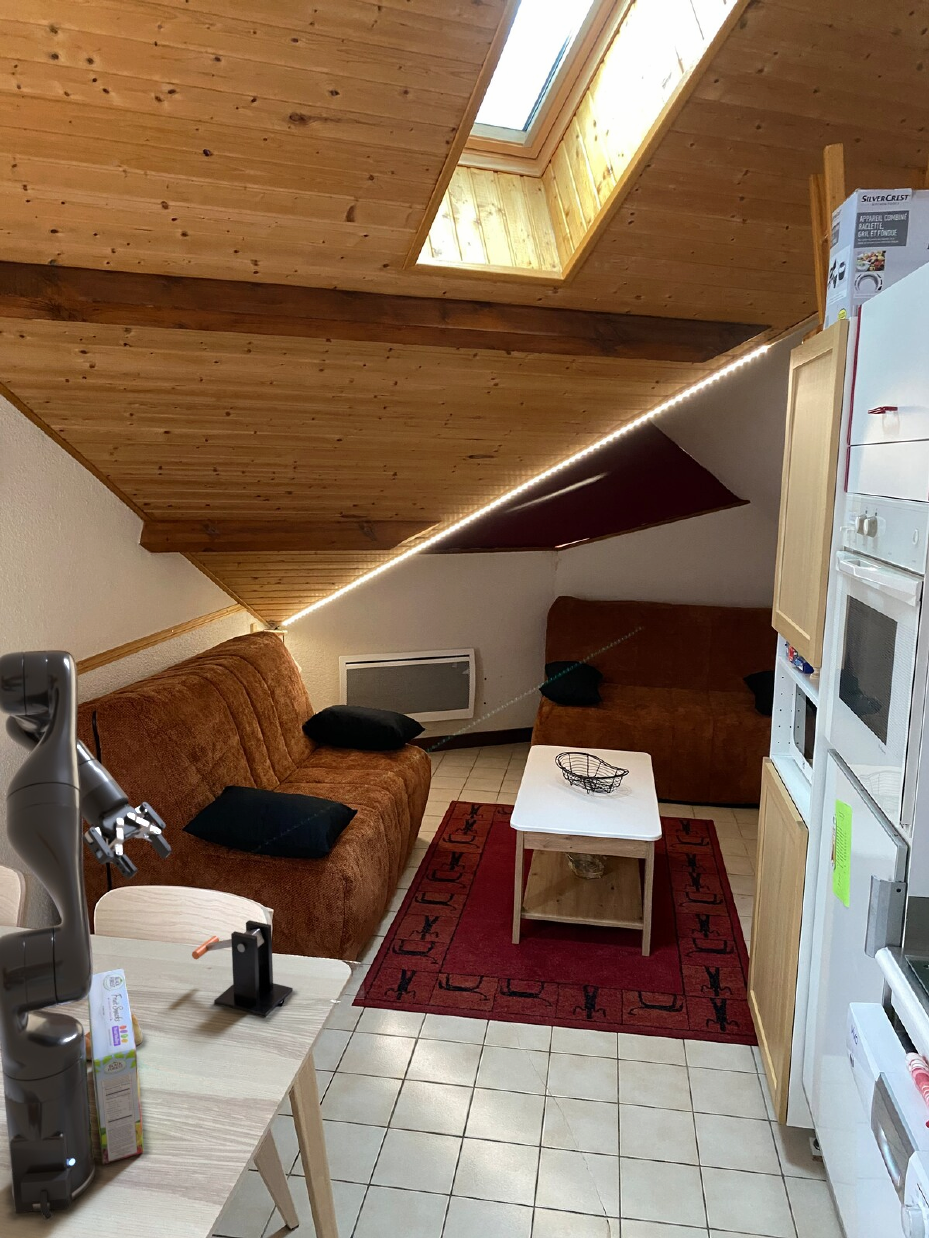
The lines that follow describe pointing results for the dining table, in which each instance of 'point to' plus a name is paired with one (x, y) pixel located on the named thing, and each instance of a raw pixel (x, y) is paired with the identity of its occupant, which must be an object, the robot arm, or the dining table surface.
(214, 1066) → the dining table surface
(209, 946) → the lever
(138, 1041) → the pastry
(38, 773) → the robot arm
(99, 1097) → the snack box
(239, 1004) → the bracket
